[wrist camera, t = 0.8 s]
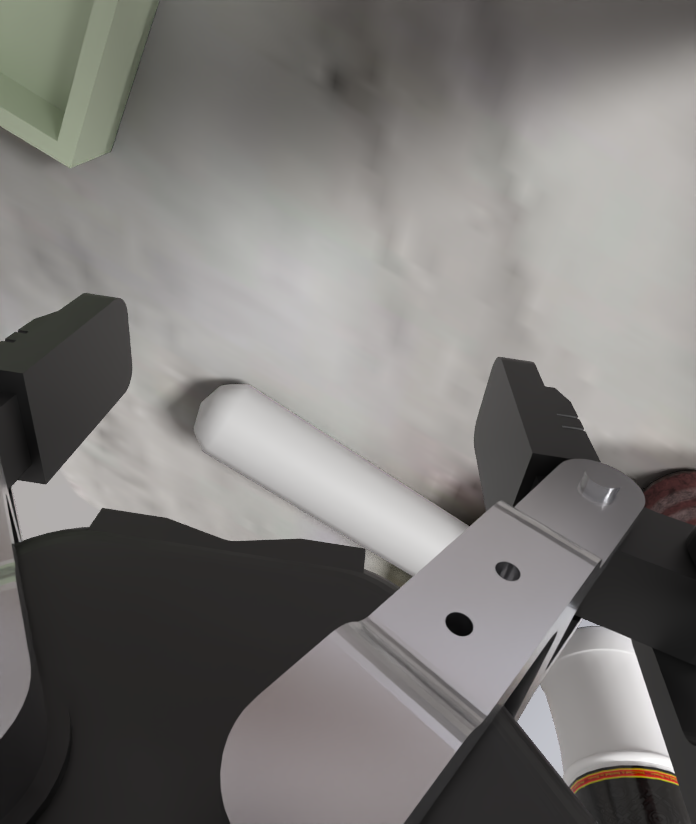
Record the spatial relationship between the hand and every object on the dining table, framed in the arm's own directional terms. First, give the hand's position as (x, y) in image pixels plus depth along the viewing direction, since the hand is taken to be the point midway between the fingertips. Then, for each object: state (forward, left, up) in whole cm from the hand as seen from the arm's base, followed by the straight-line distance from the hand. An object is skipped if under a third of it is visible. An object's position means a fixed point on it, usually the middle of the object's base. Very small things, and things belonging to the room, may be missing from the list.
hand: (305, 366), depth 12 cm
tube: (+17, +11, -19) cm, 28 cm away
